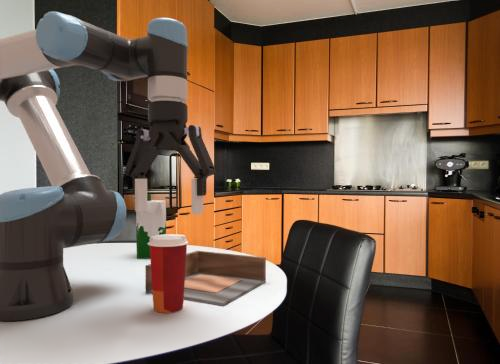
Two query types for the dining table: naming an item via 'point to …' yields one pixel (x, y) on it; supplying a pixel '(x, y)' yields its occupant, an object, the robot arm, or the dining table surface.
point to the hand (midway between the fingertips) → (168, 212)
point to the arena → (218, 276)
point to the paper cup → (168, 271)
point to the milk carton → (149, 225)
